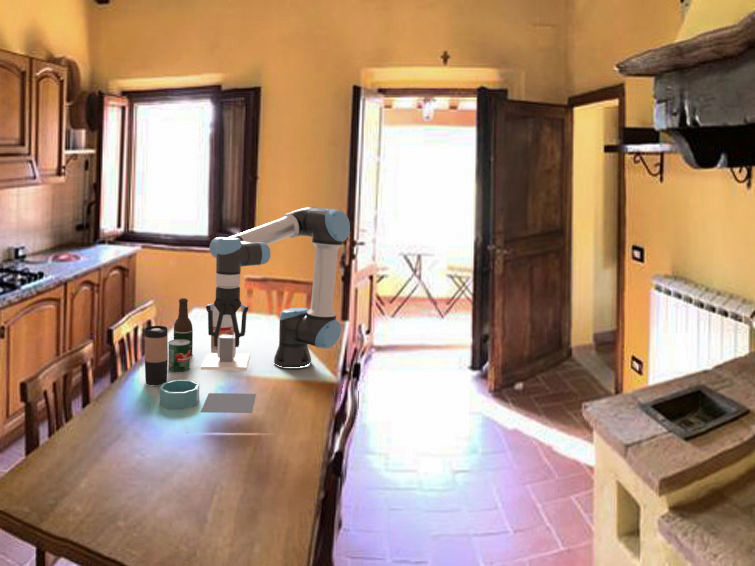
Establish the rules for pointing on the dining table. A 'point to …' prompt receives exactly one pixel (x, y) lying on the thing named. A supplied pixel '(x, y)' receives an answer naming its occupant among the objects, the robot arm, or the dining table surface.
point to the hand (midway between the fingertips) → (226, 356)
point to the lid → (225, 357)
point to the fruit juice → (225, 327)
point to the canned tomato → (179, 356)
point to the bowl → (179, 394)
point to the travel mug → (156, 355)
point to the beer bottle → (183, 324)
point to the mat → (229, 403)
